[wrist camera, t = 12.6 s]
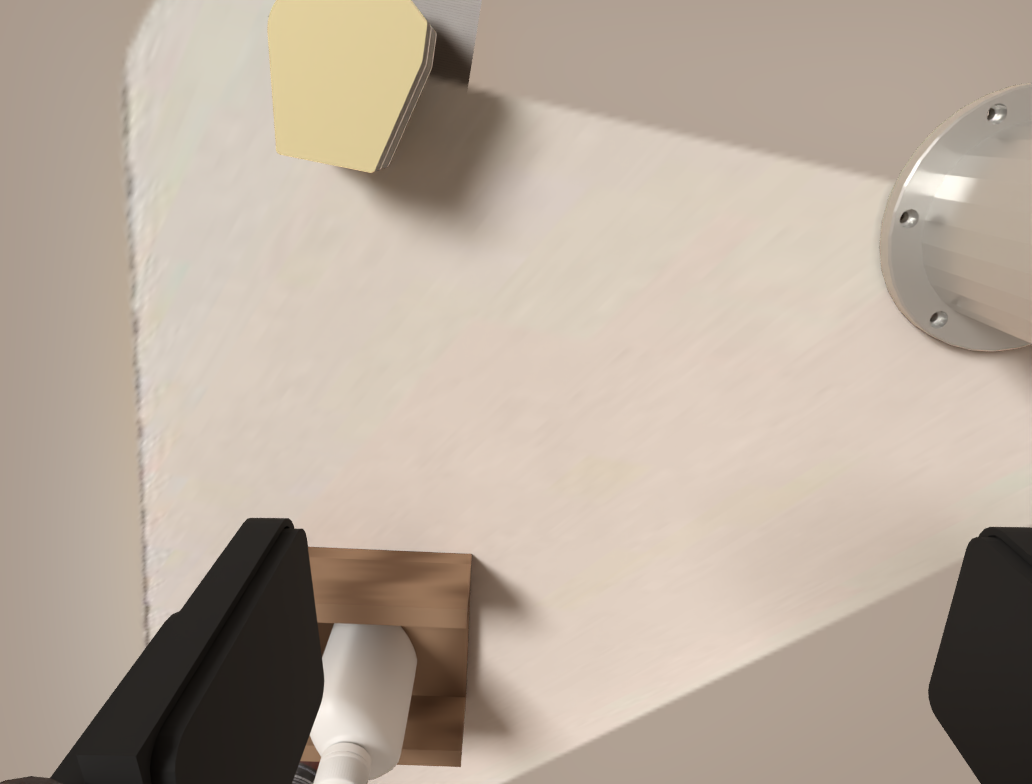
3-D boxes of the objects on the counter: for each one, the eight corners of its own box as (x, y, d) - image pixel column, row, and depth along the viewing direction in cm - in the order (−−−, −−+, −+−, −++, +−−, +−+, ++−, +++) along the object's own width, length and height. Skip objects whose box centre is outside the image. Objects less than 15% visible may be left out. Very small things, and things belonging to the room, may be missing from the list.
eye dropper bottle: (349, 676, 43) (292, 872, 32) (333, 601, 41) (267, 782, 30) (420, 671, 43) (389, 866, 31) (408, 595, 41) (369, 775, 29)
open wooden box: (471, 554, 41) (466, 609, 36) (465, 699, 45) (460, 766, 40) (282, 546, 41) (252, 600, 36) (293, 693, 44) (267, 760, 40)
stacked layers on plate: (448, 209, 34) (437, 225, 29) (263, 172, 33) (219, 181, 28) (485, -20, 31) (479, -49, 26) (279, -67, 30) (231, -106, 25)
